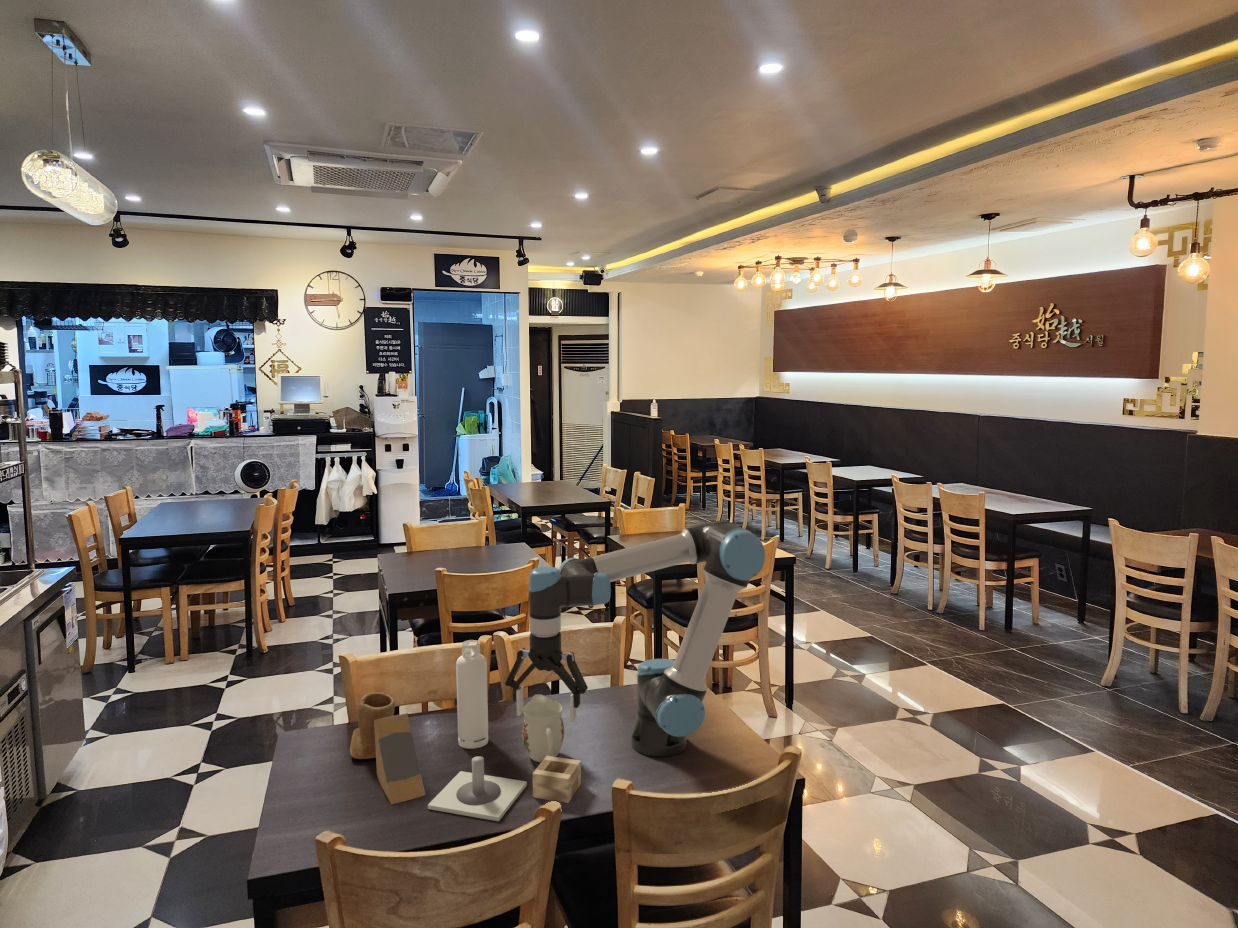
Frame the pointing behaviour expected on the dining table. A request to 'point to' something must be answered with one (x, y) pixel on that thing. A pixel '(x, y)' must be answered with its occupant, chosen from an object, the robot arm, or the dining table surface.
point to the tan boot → (369, 723)
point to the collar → (557, 779)
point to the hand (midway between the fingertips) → (546, 716)
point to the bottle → (472, 697)
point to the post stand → (478, 794)
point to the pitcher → (542, 728)
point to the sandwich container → (397, 759)
